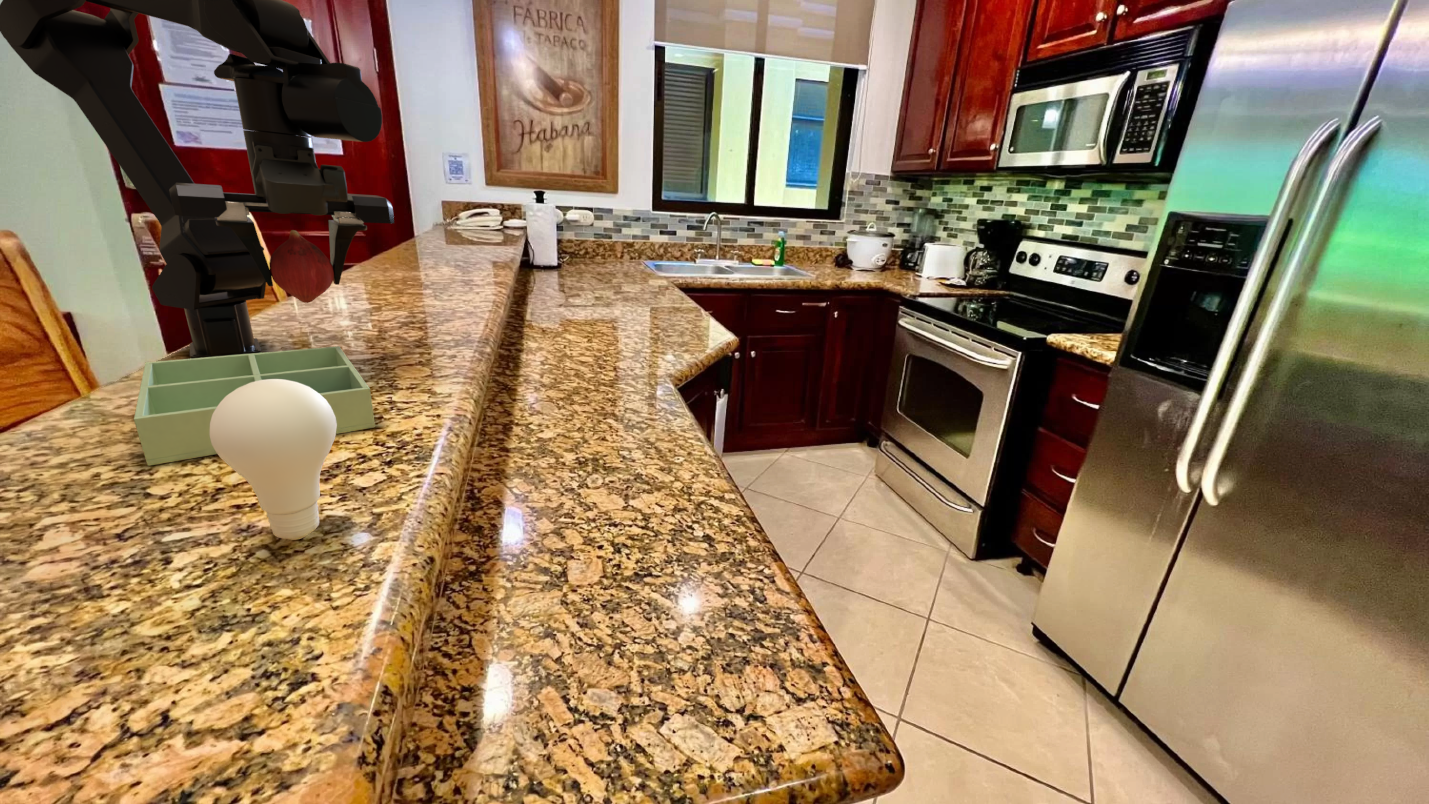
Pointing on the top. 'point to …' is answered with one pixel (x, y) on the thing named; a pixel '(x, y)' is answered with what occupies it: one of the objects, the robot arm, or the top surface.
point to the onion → (301, 268)
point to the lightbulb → (277, 448)
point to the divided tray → (194, 388)
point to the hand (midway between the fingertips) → (304, 284)
